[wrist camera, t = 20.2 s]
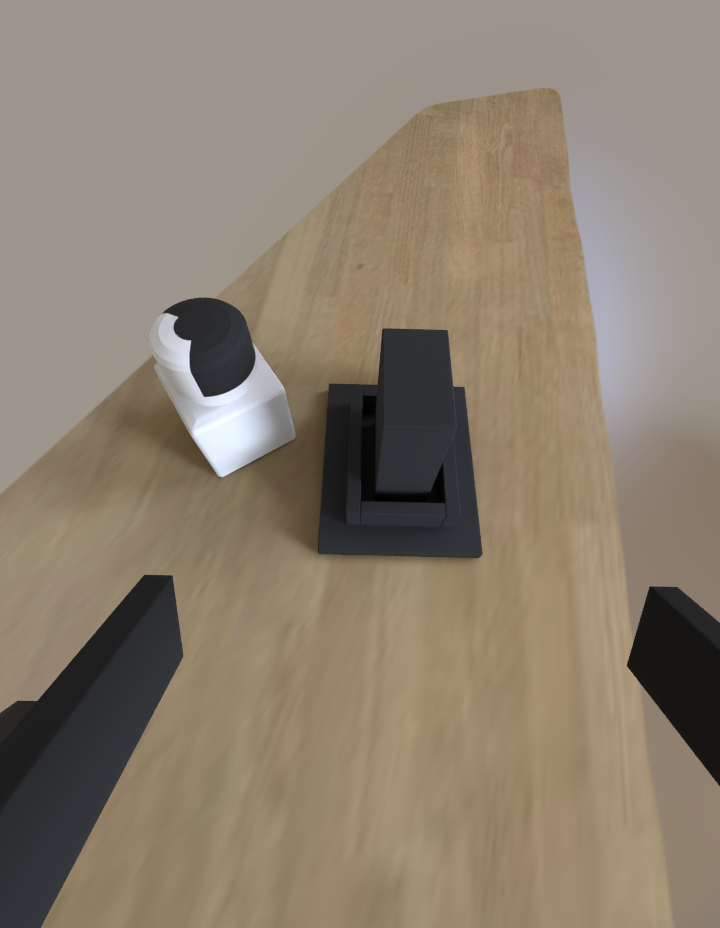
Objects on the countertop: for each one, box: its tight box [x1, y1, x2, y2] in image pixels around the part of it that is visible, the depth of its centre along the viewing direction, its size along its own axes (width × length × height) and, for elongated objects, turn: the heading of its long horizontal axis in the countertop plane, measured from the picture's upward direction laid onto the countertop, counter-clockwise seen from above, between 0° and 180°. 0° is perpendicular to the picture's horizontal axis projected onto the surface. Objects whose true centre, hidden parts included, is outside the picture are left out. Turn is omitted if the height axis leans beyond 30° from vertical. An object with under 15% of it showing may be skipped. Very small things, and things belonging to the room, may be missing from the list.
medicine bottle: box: [149, 298, 296, 477], centre depth 31 cm, size 7×7×12 cm
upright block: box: [374, 329, 457, 502], centre depth 29 cm, size 4×7×11 cm, turn 179°
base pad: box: [318, 384, 482, 558], centre depth 33 cm, size 12×15×4 cm
